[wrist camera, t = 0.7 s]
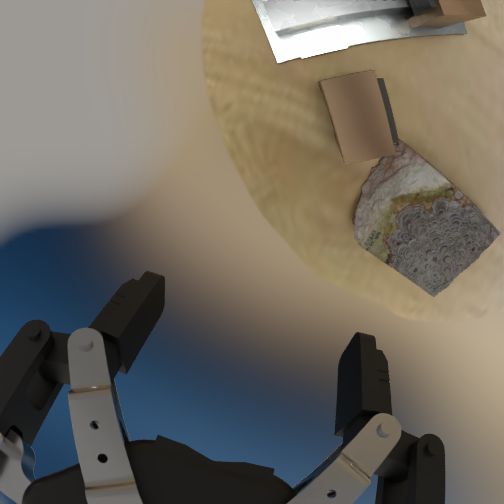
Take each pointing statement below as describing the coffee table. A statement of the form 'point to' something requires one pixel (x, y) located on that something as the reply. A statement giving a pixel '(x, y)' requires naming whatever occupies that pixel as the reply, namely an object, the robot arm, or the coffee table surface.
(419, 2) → the grey and brown stand
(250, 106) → the coffee table surface
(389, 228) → the geological specimen
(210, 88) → the coffee table surface
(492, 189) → the coffee table surface
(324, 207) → the coffee table surface
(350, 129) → the brown wooden block
